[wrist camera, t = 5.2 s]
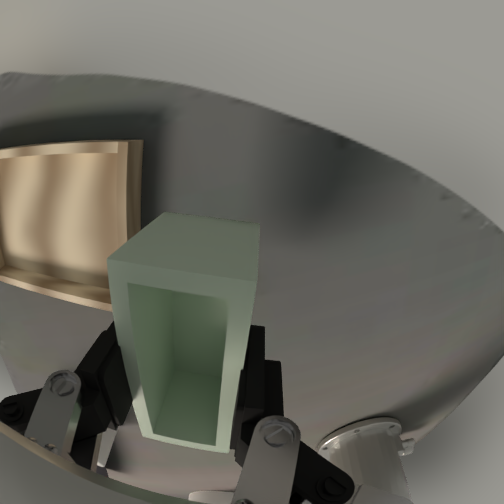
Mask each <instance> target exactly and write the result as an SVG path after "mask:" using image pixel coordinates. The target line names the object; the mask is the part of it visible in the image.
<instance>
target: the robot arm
mask: <svg viewBox="0 0 504 504" xmlns="http://www.w3.org/2000/svg"><path fill="white" fill-rule="evenodd" d="M132 402H133V399H132V395H131V391H130V387H129V383H128V379H127V375H126V371H125V366H124V362H123V357H122V352H121V347H120V346H119V345H118V340H117V335H116V329H115V323H114V321H113V322H112V324H111V325H110V327H109V328H108V329H107V330H105V331H103V332H102V333H101V334H100V336H99V337H98V338H97V340H96V341H95V343H94V344H93V345H92V347H91V348H90V350H89V351H88V352H87V354H86V355H85V357H84V358H83V360H82V361H81V363H80V364H79V366H78V367H77V369H76V370H75V372H72V371H69V370H59V371H56V372H54V373H52V374H51V375H50V376H49V377H48V379H47V380H46V382H45V384H44V387H43V388H41V389H37V390H33V391H29V392H25V393H21V394H17V395H12V396H9V397H6V398H5V399H3V400H2V401H1V403H0V504H208V503H202V502H196V501H191V500H185V499H181V498H176V497H171V496H167V495H163V494H159V493H155V492H151V491H148V490H144V489H141V488H138V487H134V486H131V485H128V484H125V483H122V482H119V481H116V480H114V479H111V478H108V477H105V476H103V475H100V474H98V473H96V469H97V463H98V457H99V451H100V445H101V440H102V435H103V432H105V431H106V430H107V428H110V429H112V430H115V431H116V430H117V428H118V425H122V424H123V423H124V421H125V418H126V416H127V414H128V411H129V409H130V406H131V404H132ZM401 431H402V427H401V424H400V422H399V421H398V420H397V419H394V418H389V417H380V418H373V419H368V420H364V421H360V422H357V423H354V424H351V425H348V426H346V427H344V428H341V429H339V430H337V431H335V432H333V433H332V434H330V435H329V436H327V437H326V438H325V439H323V440H322V441H321V442H320V444H319V445H318V447H317V451H318V453H317V452H315V451H314V450H313V449H311V448H310V447H309V446H307V445H306V444H305V443H303V442H302V441H301V440H300V439H301V433H300V430H299V427H298V426H297V425H296V424H295V423H294V422H293V421H292V420H290V419H289V418H286V417H284V410H283V391H282V372H281V362H280V361H273V360H265V327H264V326H256V325H251V326H250V330H249V336H248V342H247V348H246V354H245V360H244V366H243V370H242V369H241V371H240V377H239V383H238V390H237V396H236V402H235V408H234V414H233V420H232V429H231V438H230V448H229V449H235V455H234V457H235V461H236V462H237V463H238V464H239V465H240V466H241V467H242V471H241V474H240V477H239V481H238V484H237V487H236V490H235V492H234V495H233V498H232V501H231V504H413V502H412V499H411V495H410V491H409V488H408V484H407V480H406V477H405V473H404V470H403V466H402V463H401V460H400V456H404V455H408V454H411V453H412V452H413V446H414V444H415V440H414V439H413V438H411V439H406V440H403V441H402V440H401V439H400V436H399V435H400V433H401Z"/></svg>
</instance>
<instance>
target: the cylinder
mask: <svg viewBox="0 0 504 504" xmlns="http://www.w3.org/2000/svg"><path fill="white" fill-rule="evenodd" d="M233 495H234V492H223V491H196V492H192V493H190V494H189V499H188V500H191V501H196V502H202V503H208V504H231V501H232V498H233Z"/></svg>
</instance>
